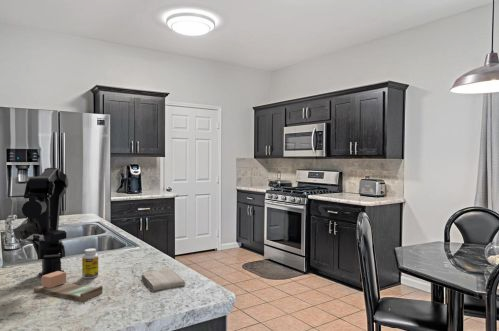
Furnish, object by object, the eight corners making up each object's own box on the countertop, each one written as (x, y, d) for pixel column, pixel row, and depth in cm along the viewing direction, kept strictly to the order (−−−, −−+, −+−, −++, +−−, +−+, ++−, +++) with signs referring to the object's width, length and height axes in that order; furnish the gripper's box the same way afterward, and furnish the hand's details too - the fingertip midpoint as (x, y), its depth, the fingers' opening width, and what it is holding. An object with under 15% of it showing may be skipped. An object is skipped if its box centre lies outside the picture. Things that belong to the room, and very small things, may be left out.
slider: (41, 286, 121) (41, 276, 121) (57, 280, 126) (57, 270, 126) (50, 288, 119) (50, 277, 119) (66, 282, 125) (65, 272, 125)
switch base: (33, 291, 121) (33, 284, 121) (55, 283, 128) (55, 277, 128) (82, 301, 112) (82, 294, 112) (102, 292, 120) (102, 286, 120)
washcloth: (170, 273, 142) (170, 265, 142) (186, 287, 127) (186, 278, 127) (139, 278, 136) (139, 270, 136) (152, 293, 121) (152, 284, 121)
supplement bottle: (83, 280, 132) (83, 252, 132) (81, 276, 137) (81, 249, 137) (99, 277, 136) (99, 250, 135) (96, 273, 140) (96, 247, 140)
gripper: (-2, 215, 121) (-1, 261, 122) (37, 219, 114) (37, 268, 114) (30, 211, 132) (30, 253, 132) (67, 214, 124) (67, 259, 124)
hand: (40, 258), depth 125 cm, fingers closed
